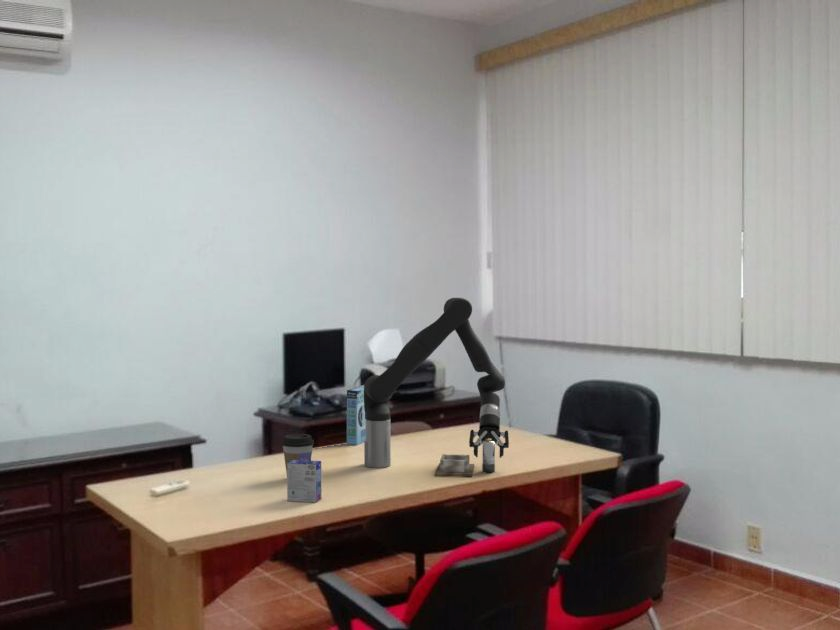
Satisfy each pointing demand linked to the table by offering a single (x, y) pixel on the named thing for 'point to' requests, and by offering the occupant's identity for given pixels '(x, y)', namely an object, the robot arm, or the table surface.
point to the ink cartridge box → (304, 480)
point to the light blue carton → (356, 416)
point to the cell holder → (454, 466)
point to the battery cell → (488, 456)
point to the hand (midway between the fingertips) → (488, 456)
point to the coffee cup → (296, 446)
